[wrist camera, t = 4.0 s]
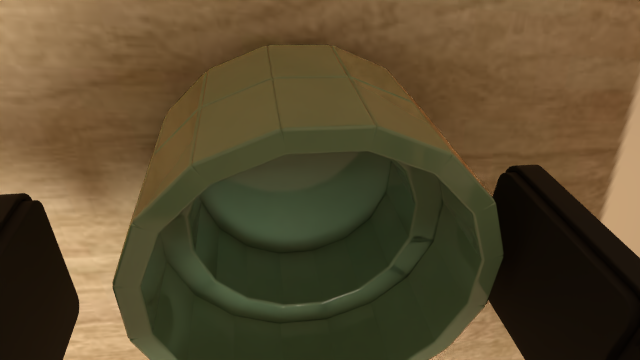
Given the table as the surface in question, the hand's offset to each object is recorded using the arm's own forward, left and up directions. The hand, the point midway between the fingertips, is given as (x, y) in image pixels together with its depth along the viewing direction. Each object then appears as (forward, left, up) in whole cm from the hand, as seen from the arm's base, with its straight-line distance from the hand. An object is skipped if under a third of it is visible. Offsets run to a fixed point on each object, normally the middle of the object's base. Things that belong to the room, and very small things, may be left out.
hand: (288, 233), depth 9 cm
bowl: (0, 0, -3) cm, 3 cm away
